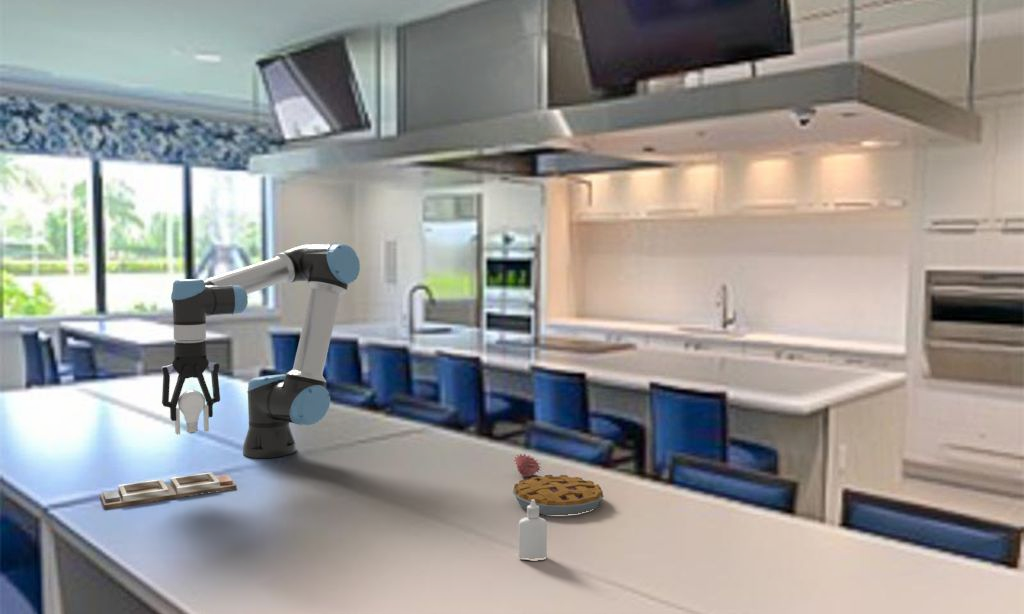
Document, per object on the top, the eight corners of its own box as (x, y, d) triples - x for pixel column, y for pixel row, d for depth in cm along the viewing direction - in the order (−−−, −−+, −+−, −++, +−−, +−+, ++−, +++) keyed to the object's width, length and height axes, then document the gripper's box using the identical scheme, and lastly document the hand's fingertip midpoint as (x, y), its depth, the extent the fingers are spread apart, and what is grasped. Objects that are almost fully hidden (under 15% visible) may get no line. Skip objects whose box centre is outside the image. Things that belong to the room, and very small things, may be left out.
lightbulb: (195, 436, 195) (195, 393, 194) (173, 435, 197) (172, 391, 196) (210, 431, 201) (210, 388, 201) (188, 429, 203) (187, 387, 202)
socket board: (227, 479, 209) (227, 469, 209) (236, 489, 201) (236, 479, 200) (100, 497, 193) (100, 487, 193) (104, 509, 185) (104, 498, 184)
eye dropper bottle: (525, 552, 161) (525, 494, 160) (549, 557, 158) (550, 499, 157) (515, 559, 157) (515, 500, 156) (540, 565, 154) (540, 505, 154)
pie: (541, 525, 177) (541, 503, 176) (497, 497, 196) (497, 477, 196) (620, 511, 187) (621, 490, 187) (571, 486, 206) (572, 467, 206)
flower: (523, 460, 208) (531, 445, 212) (503, 467, 213) (511, 452, 217) (542, 480, 210) (549, 464, 214) (522, 486, 215) (529, 470, 219)
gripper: (226, 337, 205) (228, 424, 207) (146, 341, 195) (149, 433, 197) (232, 340, 199) (234, 430, 201) (150, 344, 189) (153, 439, 191)
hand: (192, 431), depth 199 cm, fingers closed on lightbulb, 6 cm apart
